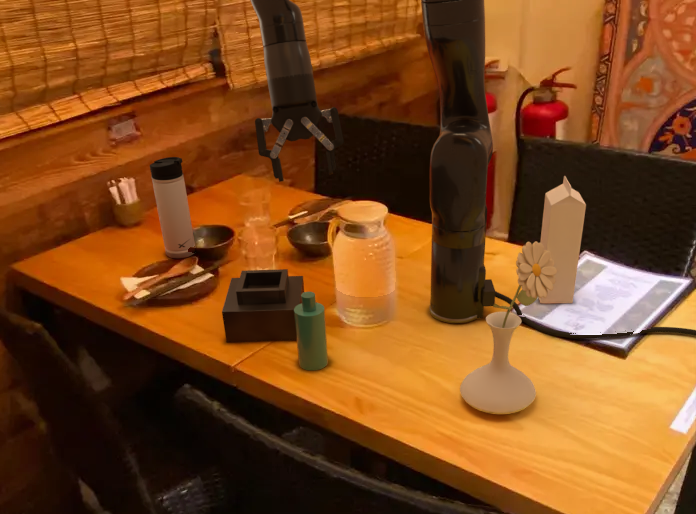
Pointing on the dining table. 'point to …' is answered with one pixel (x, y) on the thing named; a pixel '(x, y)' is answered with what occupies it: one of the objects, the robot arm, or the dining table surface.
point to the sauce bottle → (311, 333)
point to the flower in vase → (499, 375)
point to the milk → (563, 239)
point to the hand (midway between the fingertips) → (306, 177)
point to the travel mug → (172, 206)
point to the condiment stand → (262, 306)
